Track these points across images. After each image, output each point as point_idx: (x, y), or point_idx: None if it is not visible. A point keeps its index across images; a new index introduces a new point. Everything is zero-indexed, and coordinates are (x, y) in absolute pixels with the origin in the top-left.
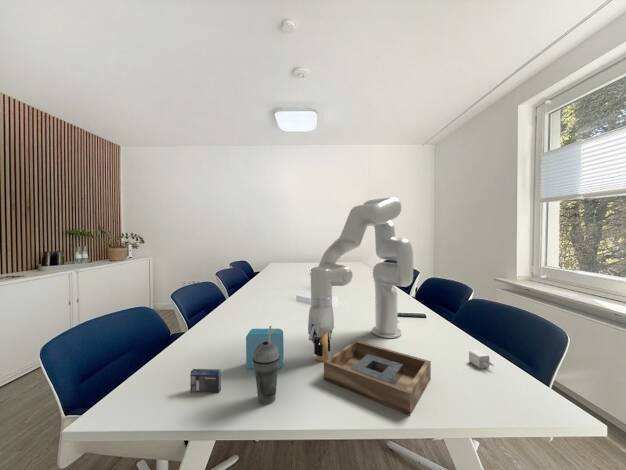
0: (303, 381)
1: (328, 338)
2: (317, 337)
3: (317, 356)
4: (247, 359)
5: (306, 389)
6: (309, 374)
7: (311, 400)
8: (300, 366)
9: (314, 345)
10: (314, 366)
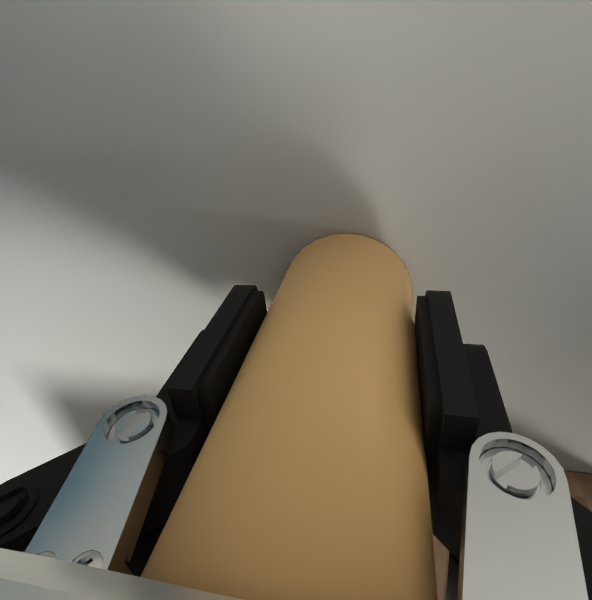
0: (22, 344)
1: (446, 544)
2: (165, 530)
3: (280, 285)
4: None
5: (10, 392)
6: (93, 332)
7: (2, 439)
8: (85, 200)
9: (186, 362)
10: (192, 300)
